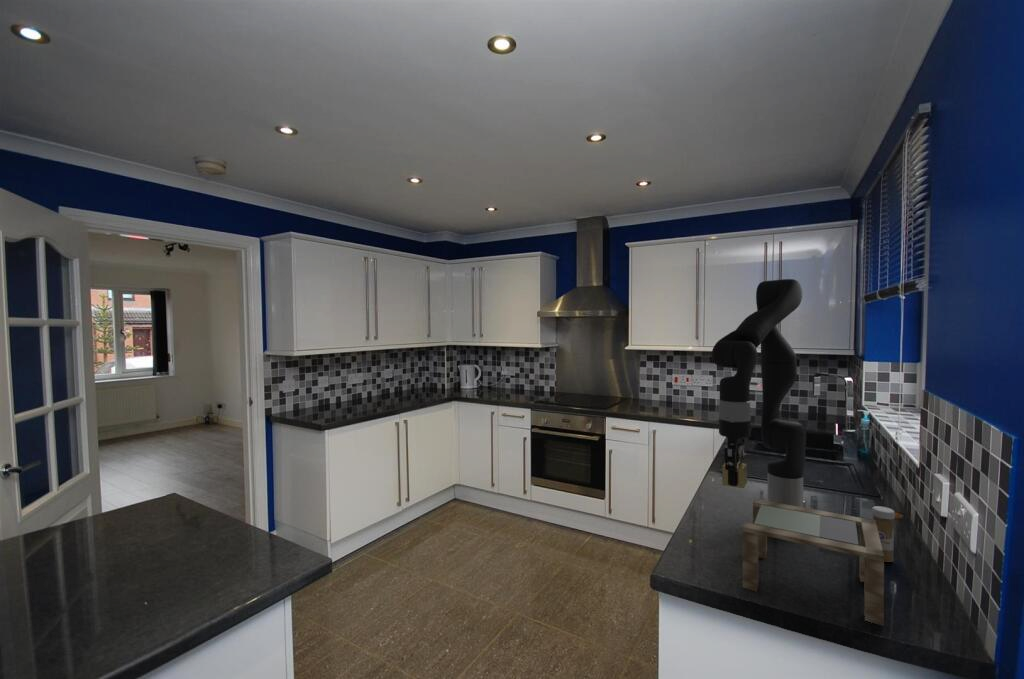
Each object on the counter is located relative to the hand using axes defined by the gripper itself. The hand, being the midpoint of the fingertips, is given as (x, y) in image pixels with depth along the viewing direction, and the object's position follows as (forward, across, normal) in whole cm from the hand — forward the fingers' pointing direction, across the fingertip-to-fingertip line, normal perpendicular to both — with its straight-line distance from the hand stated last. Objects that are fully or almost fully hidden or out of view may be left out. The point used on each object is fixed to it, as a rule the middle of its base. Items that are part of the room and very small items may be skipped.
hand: (734, 481), depth 121 cm
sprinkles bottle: (+22, -23, +32) cm, 45 cm away
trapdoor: (+10, +1, +15) cm, 18 cm away
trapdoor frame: (+21, +2, +16) cm, 27 cm away
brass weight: (0, 0, 0) cm, 1 cm away
